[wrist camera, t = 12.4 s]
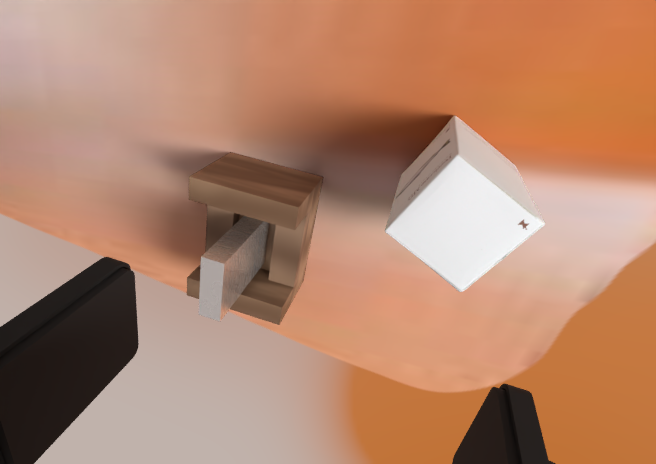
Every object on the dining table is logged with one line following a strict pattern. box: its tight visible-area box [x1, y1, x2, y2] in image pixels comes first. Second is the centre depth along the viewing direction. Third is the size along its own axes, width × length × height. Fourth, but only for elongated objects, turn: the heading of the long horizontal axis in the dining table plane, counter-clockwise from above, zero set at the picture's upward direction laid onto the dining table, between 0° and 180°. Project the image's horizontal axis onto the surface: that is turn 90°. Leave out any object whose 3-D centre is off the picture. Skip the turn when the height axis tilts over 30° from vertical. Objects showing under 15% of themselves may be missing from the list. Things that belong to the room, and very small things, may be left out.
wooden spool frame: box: [187, 152, 323, 325], centre depth 41 cm, size 13×10×8 cm
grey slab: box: [199, 216, 269, 321], centre depth 38 cm, size 6×2×10 cm, turn 169°
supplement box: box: [385, 116, 545, 292], centre depth 32 cm, size 7×7×13 cm
